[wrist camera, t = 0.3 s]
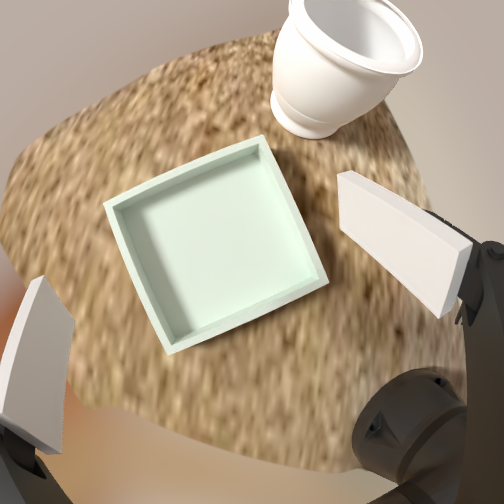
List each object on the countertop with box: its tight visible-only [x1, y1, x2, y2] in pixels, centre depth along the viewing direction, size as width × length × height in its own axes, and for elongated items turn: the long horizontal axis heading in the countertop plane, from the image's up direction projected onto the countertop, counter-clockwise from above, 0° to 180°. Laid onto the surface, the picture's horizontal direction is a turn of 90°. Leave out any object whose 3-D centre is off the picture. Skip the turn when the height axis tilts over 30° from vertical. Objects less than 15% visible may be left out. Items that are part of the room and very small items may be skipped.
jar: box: [271, 0, 423, 139], centre depth 22 cm, size 11×10×15 cm
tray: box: [103, 134, 329, 355], centre depth 26 cm, size 14×15×4 cm
